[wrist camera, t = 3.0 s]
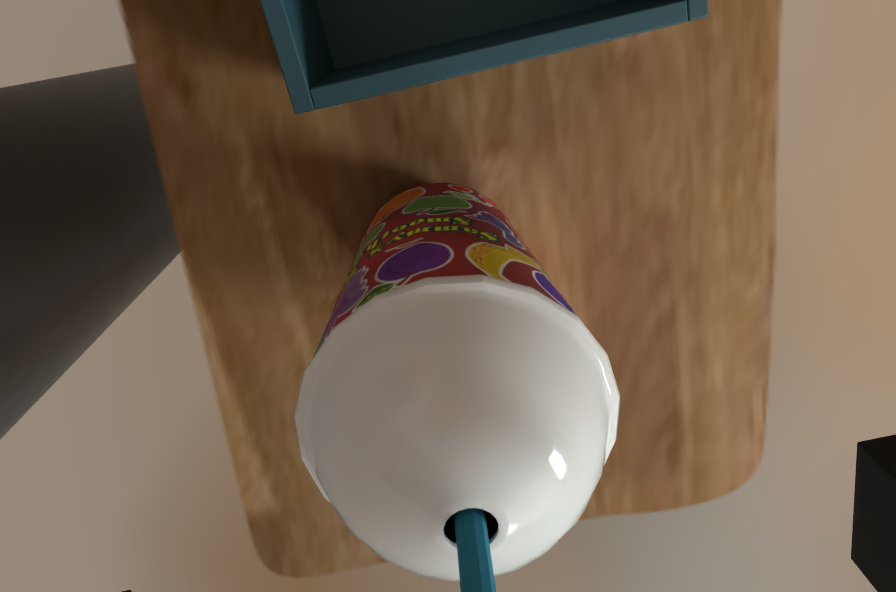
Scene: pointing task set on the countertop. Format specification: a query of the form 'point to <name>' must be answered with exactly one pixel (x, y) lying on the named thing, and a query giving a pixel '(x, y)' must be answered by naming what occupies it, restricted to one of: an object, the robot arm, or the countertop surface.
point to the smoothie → (455, 394)
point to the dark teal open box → (439, 38)
